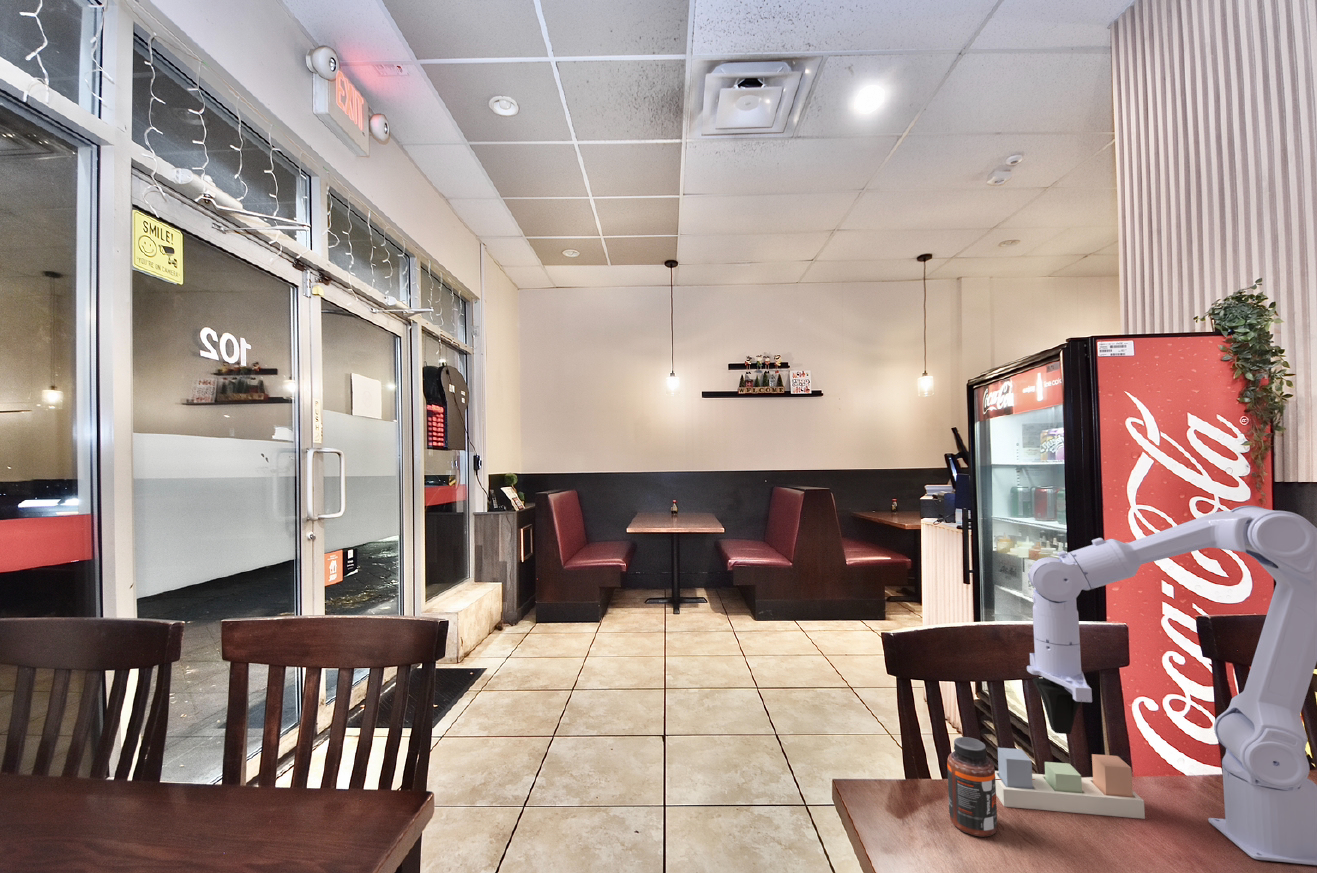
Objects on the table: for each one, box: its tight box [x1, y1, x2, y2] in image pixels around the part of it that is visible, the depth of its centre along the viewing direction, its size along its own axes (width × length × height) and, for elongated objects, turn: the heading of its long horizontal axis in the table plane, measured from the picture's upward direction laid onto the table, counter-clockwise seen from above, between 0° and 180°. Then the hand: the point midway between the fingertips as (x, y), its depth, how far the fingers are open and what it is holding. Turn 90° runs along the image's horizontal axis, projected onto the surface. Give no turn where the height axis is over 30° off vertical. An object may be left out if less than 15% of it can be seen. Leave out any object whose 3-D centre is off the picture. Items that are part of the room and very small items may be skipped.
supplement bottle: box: [946, 736, 998, 837], centre depth 81 cm, size 6×6×11 cm
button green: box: [1044, 761, 1082, 793], centre depth 86 cm, size 3×3×4 cm
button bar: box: [995, 770, 1146, 820], centre depth 86 cm, size 18×5×2 cm, turn 79°
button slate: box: [997, 747, 1033, 789], centre depth 87 cm, size 3×3×4 cm
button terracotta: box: [1091, 753, 1134, 798], centre depth 85 cm, size 3×3×4 cm
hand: (1060, 731), depth 86 cm, fingers closed
